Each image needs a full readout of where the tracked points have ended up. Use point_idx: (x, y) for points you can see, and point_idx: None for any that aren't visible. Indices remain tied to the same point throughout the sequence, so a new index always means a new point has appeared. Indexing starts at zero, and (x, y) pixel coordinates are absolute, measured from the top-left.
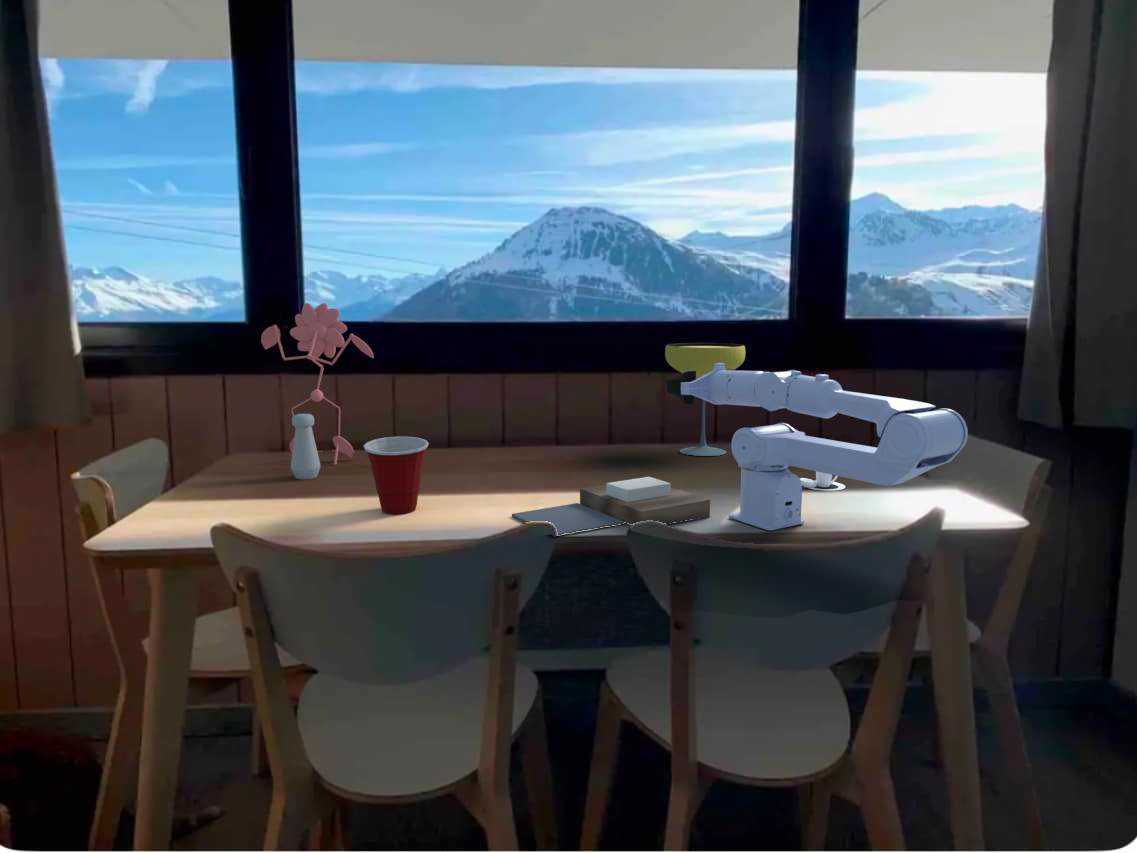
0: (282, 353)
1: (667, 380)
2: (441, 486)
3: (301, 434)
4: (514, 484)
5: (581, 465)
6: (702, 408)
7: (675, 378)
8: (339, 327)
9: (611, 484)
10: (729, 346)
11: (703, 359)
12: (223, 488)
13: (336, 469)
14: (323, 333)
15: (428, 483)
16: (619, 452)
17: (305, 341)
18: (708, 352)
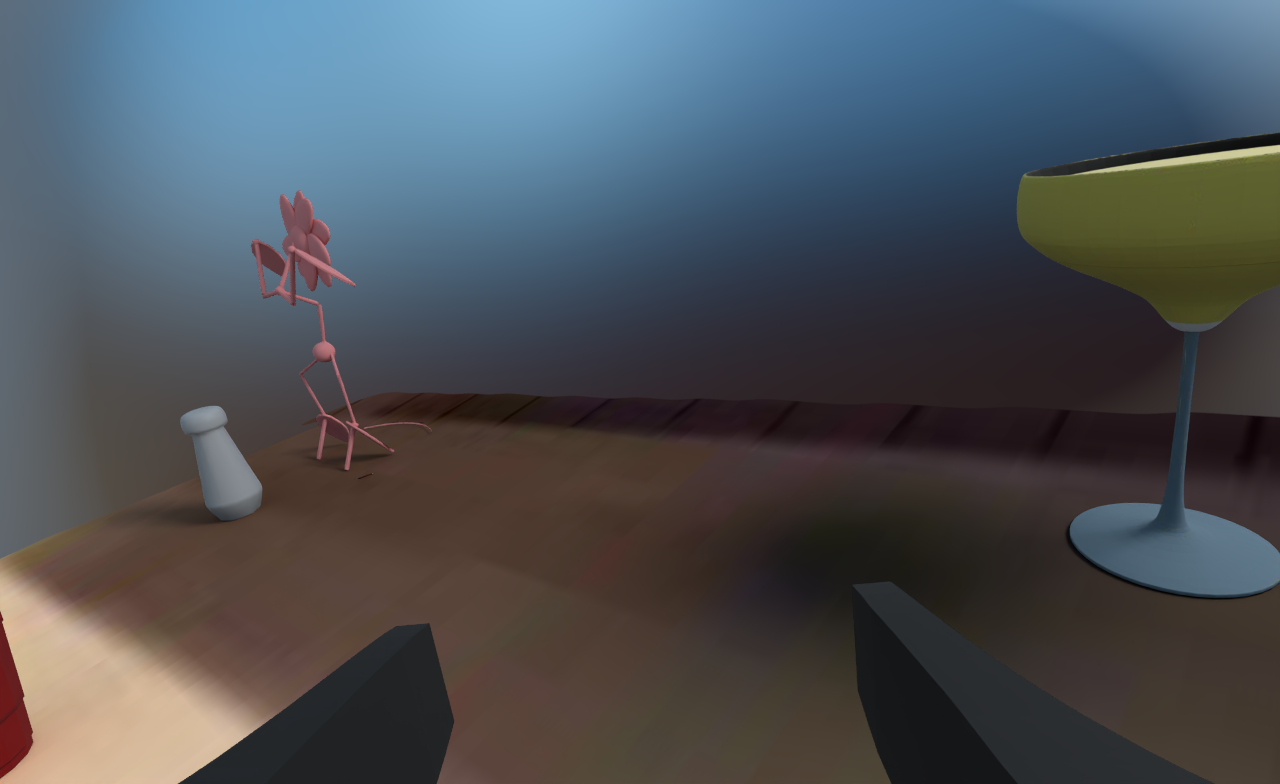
0: (261, 286)
1: (390, 631)
2: (284, 622)
3: (196, 447)
4: None
5: (695, 567)
6: (1178, 401)
7: (237, 749)
8: (319, 232)
9: None
10: None
11: (1177, 222)
12: (114, 531)
13: (319, 487)
14: (301, 246)
15: (298, 594)
16: (871, 498)
17: (297, 261)
18: (1211, 185)
